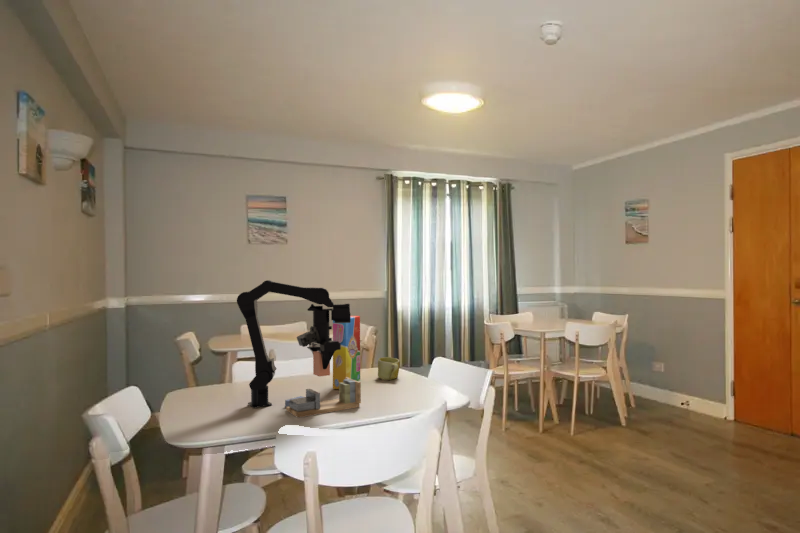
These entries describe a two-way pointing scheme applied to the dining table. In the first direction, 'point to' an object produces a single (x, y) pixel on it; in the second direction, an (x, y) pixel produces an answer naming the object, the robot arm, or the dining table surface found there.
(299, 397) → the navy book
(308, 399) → the bookend
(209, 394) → the dining table surface
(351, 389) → the wooden toy block set
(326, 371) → the salmon orange block
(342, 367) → the game box
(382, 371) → the mug
